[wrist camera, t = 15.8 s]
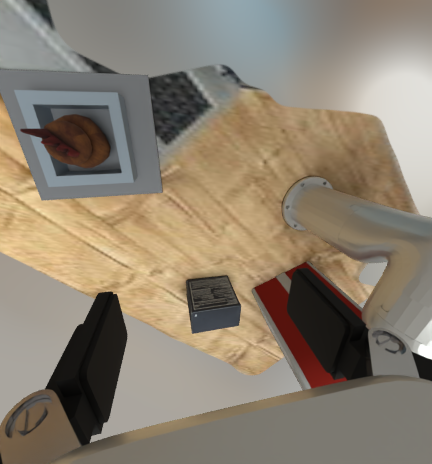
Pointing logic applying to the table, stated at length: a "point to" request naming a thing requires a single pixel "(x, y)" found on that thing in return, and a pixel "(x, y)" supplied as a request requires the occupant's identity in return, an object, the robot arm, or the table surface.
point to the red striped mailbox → (286, 333)
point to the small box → (212, 304)
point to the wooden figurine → (74, 141)
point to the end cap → (102, 114)
